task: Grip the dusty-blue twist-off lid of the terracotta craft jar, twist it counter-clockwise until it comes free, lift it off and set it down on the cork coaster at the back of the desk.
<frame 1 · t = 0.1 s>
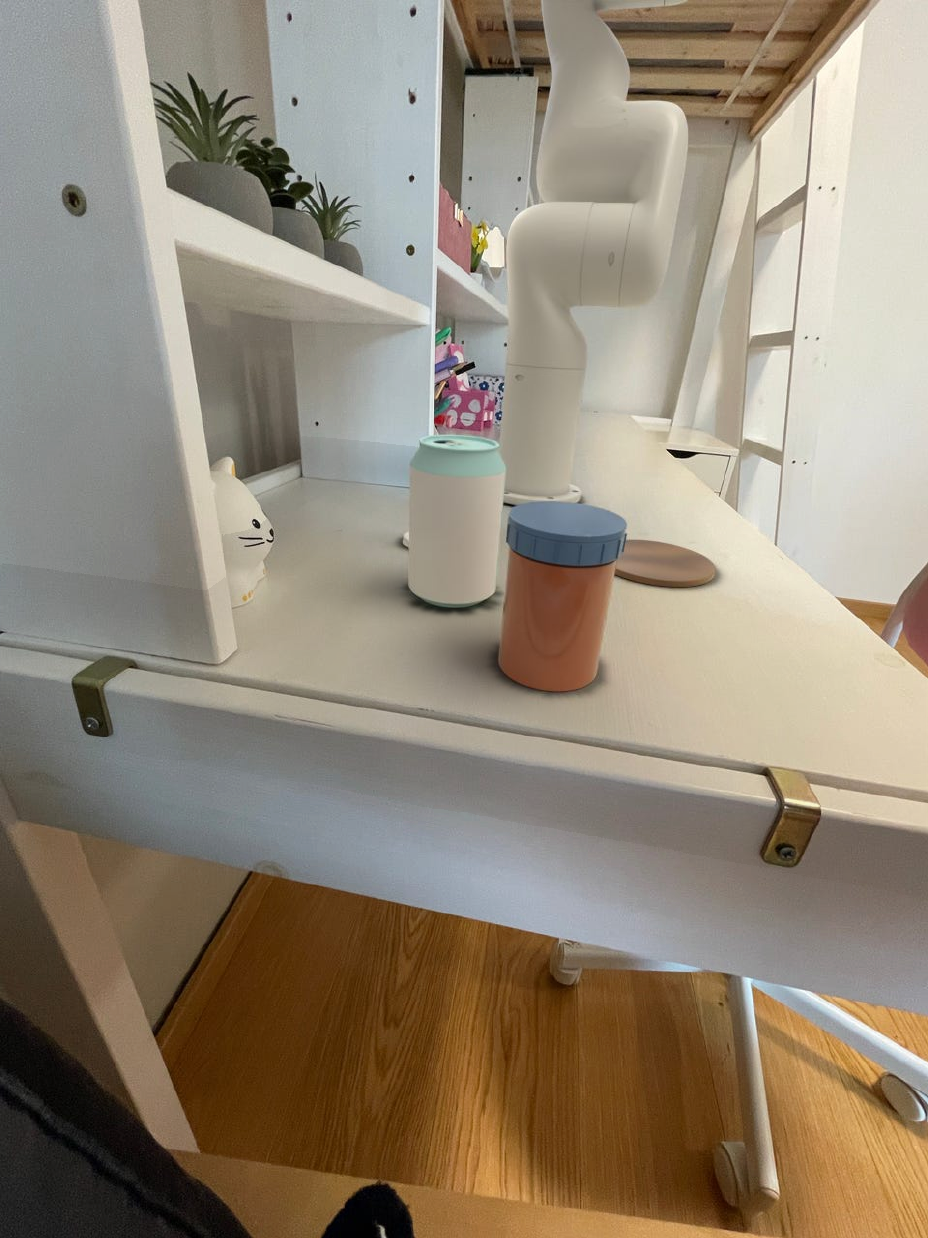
can: (451, 595, 47), on the table
jar: (547, 664, 38), on the table
lid: (566, 523, 34), point 9 cm above the table, screwed on, not yet turned
coaster: (653, 564, 56), on the table
chess piece: (427, 544, 58), on the table
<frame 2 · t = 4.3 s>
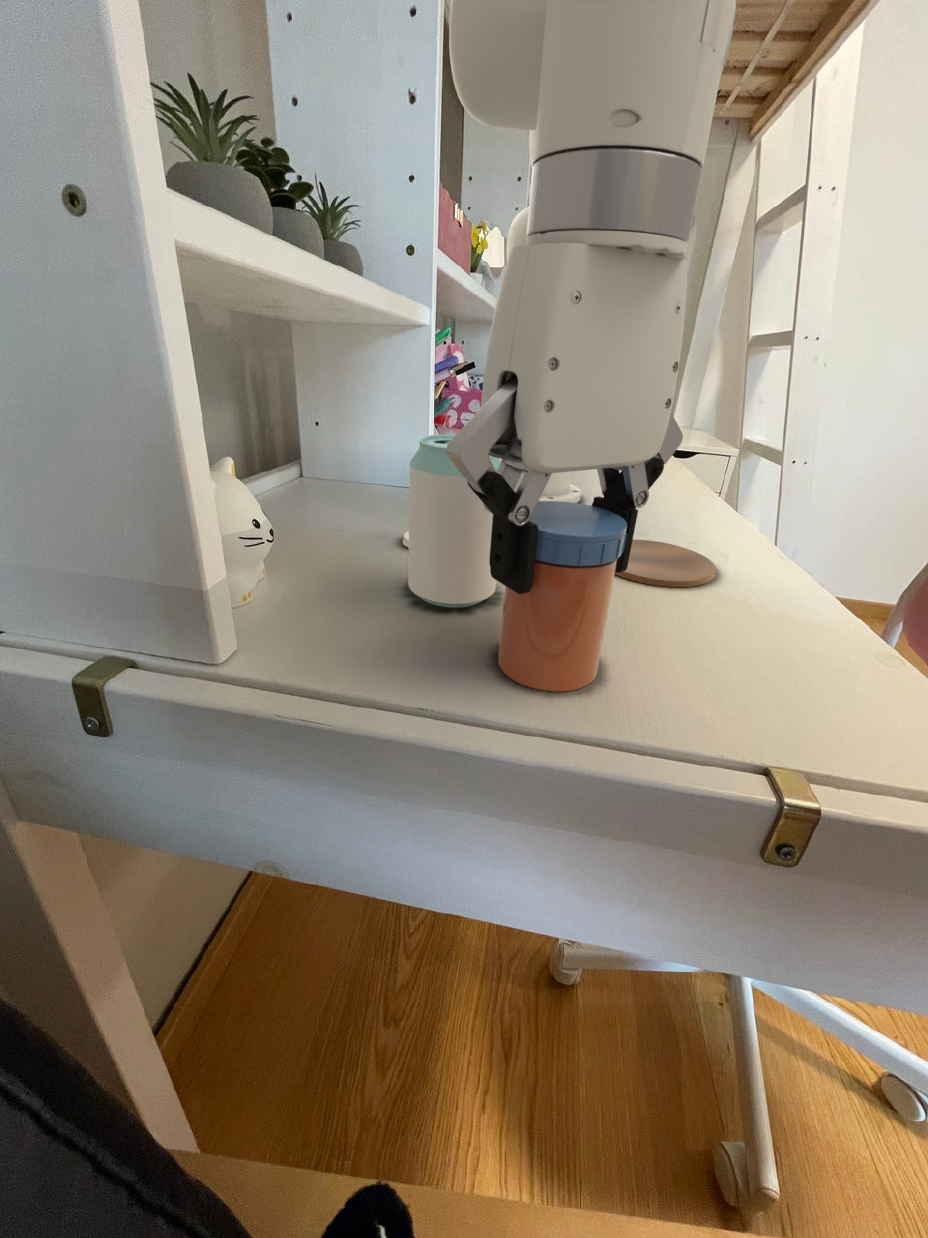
hand: (559, 572, 35), 6 cm above the table, tool pointing down, fingers closed on lid, 6 cm apart
lid: (566, 523, 34), point 9 cm above the table, screwed on, not yet turned, touching gripper
everything else where it was.
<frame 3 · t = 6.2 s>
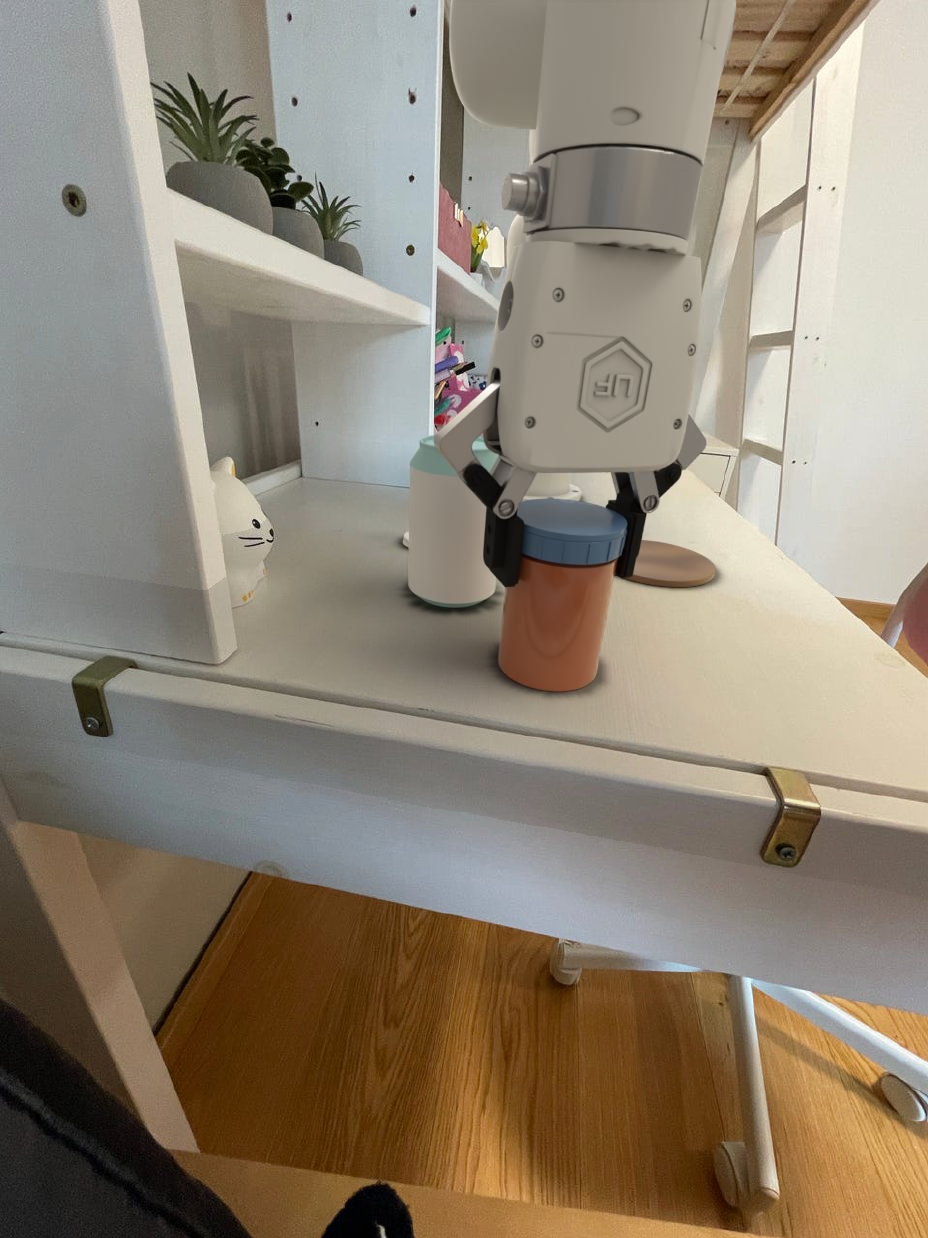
hand: (560, 571, 35), 7 cm above the table, tool pointing down, fingers closed on lid, 6 cm apart
lid: (566, 521, 34), point 10 cm above the table, off its thread, touching gripper
everything else where it was.
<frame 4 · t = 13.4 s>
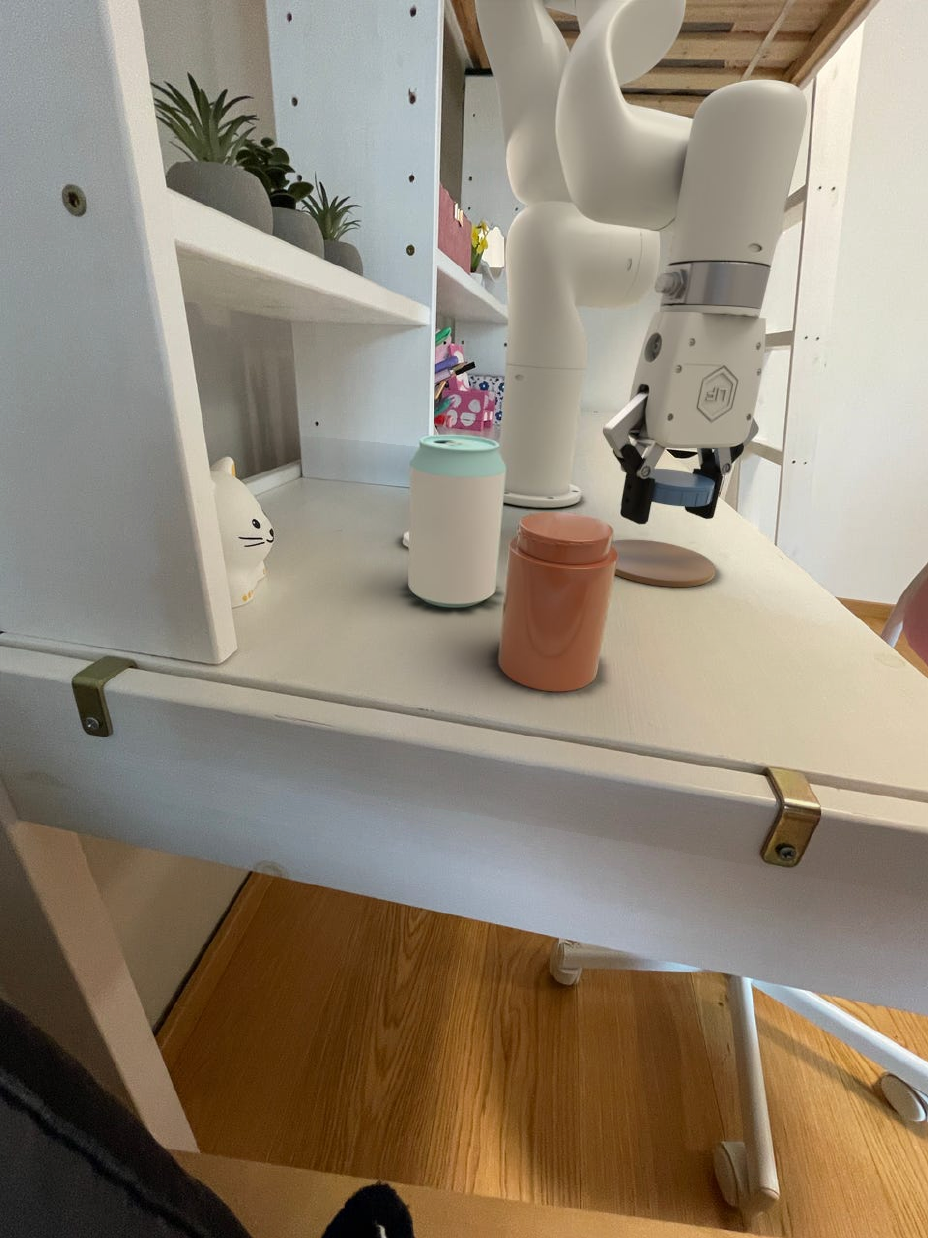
hand: (666, 515, 53), 5 cm above the table, tool pointing down, fingers closed on lid, 6 cm apart
lid: (673, 481, 52), point 8 cm above the table, off its thread, touching gripper
everything else where it was.
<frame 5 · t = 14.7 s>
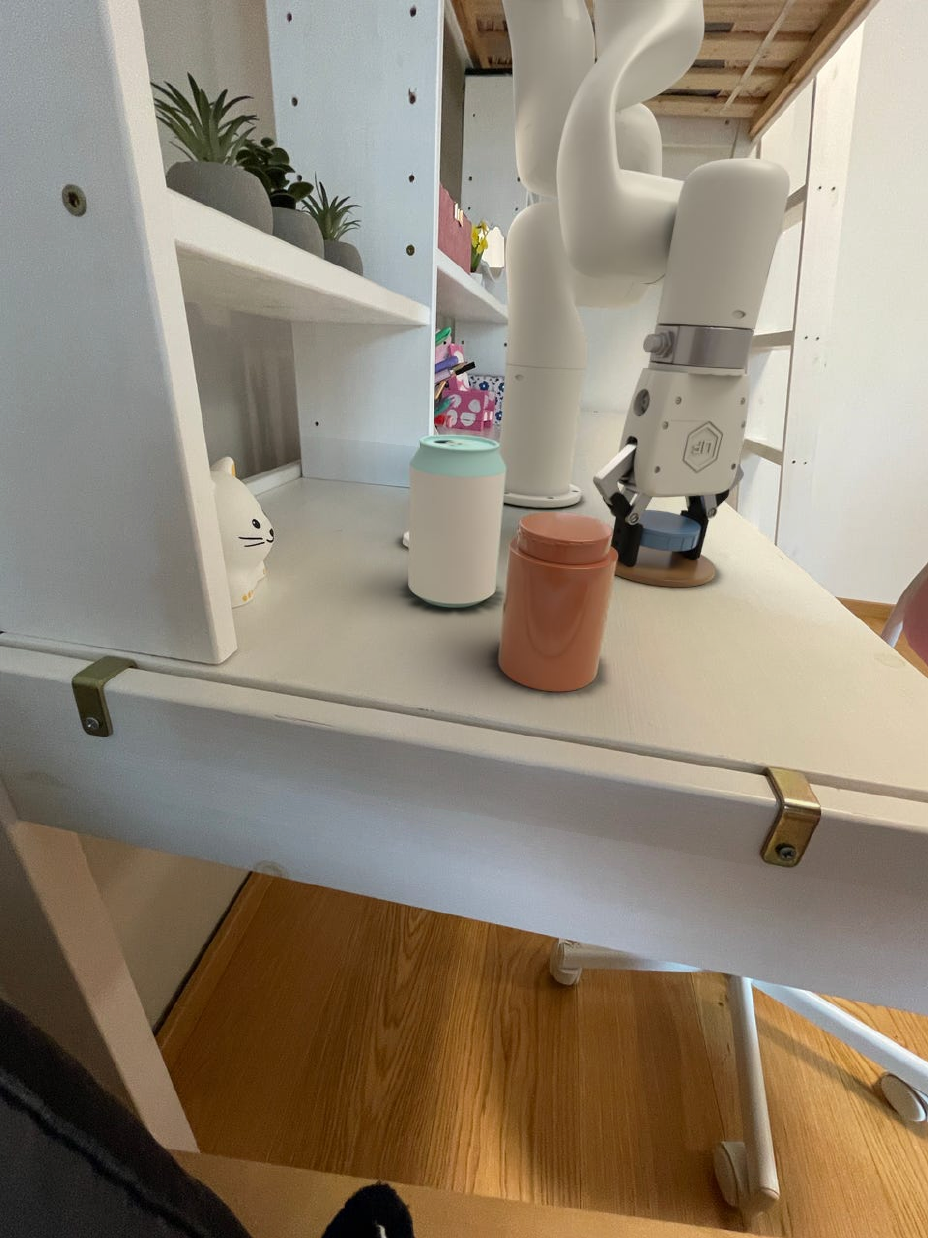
hand: (654, 556, 56), 1 cm above the table, tool pointing down, fingers closed on lid, 6 cm apart
lid: (661, 525, 54), point 4 cm above the table, off its thread, touching gripper
everything else where it was.
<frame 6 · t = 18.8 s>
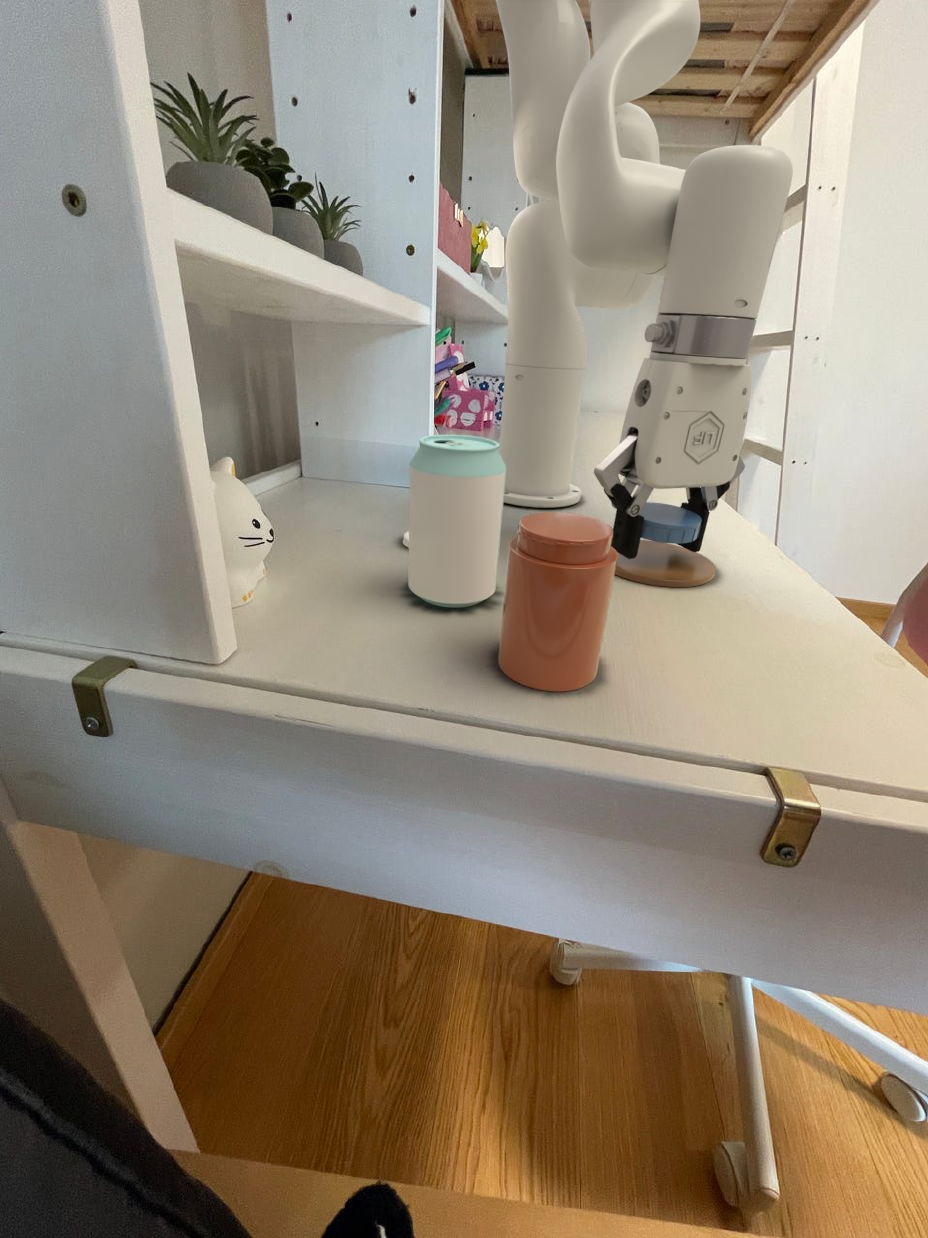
hand: (655, 548, 55), 1 cm above the table, tool pointing down, fingers closed on lid, 6 cm apart
lid: (662, 517, 54), point 5 cm above the table, off its thread, touching gripper
everything else where it was.
when the fingers open (1 cm above the table, at t = 22.5 s): lid drops 2 cm, resting on coaster.
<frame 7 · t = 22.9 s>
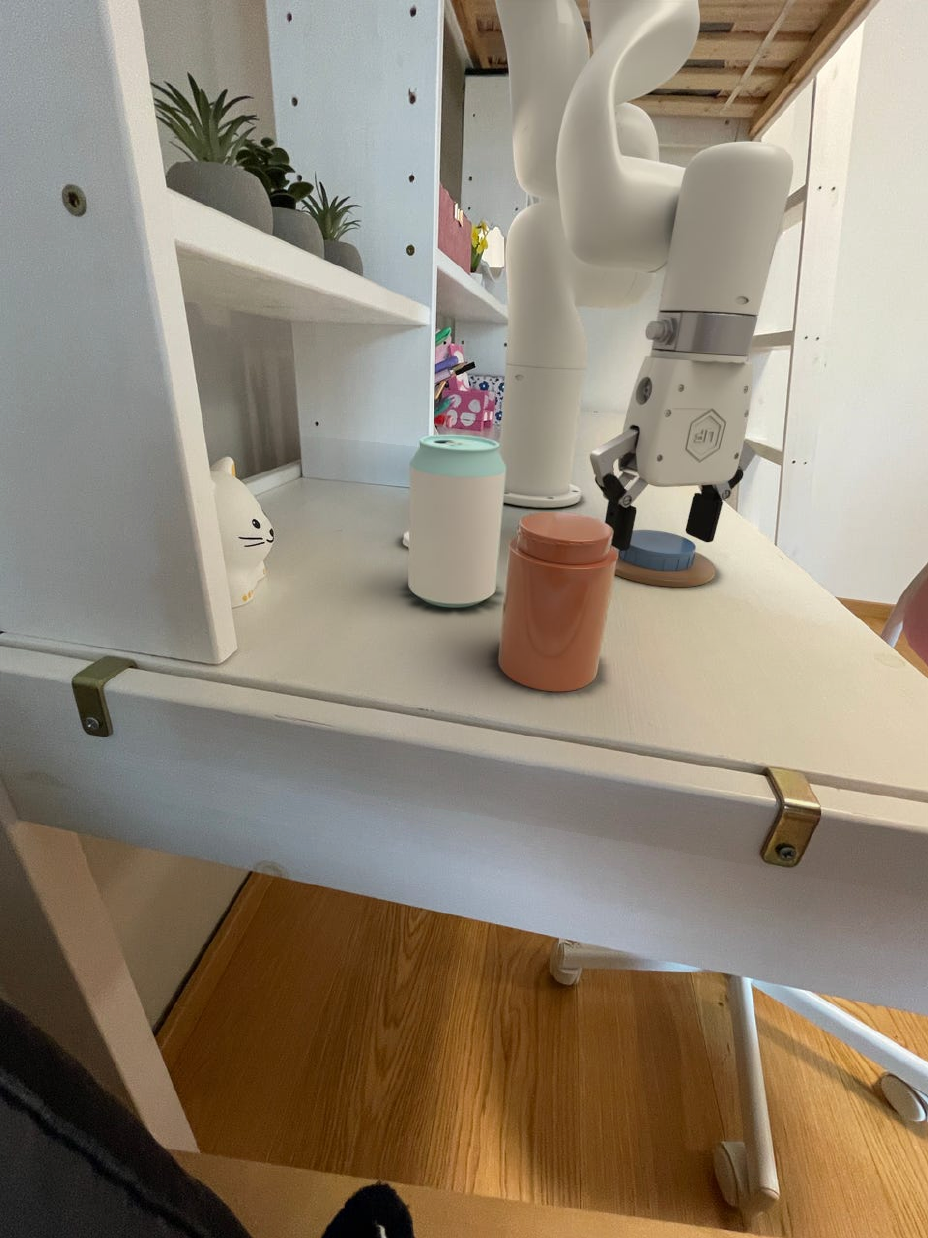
hand: (658, 541, 55), 2 cm above the table, tool pointing down, fingers open, 9 cm apart
lid: (657, 544, 55), point 2 cm above the table, off its thread, touching coaster
everything else where it was.
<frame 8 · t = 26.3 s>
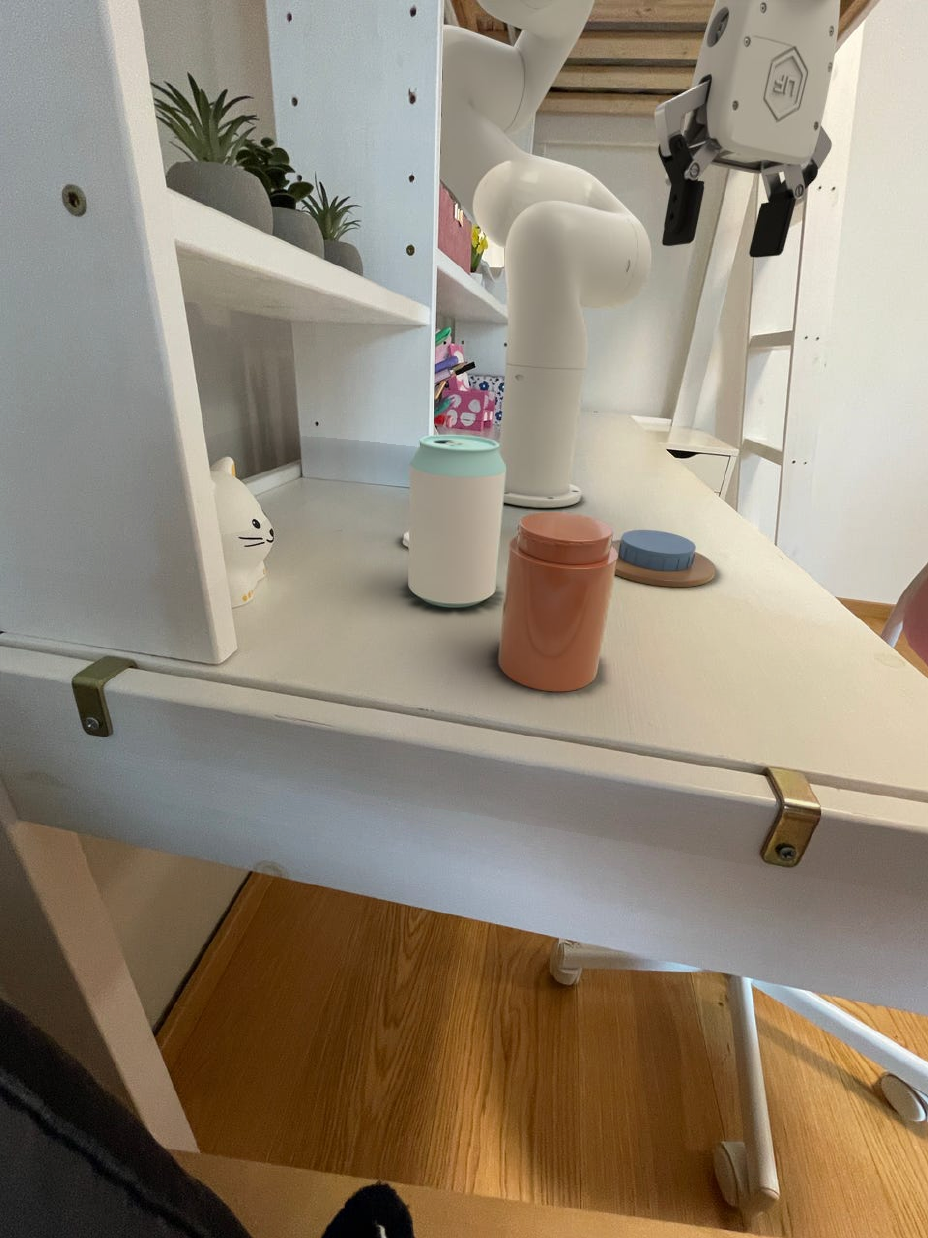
hand: (722, 250, 50), 26 cm above the table, tool pointing down, fingers open, 9 cm apart
nothing on the table moved.
at the end: lid came off its thread; lid inside the target area on the coaster (0.1 cm from its centre), point 1.9 cm above the coaster's base; the gripper is holding nothing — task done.
